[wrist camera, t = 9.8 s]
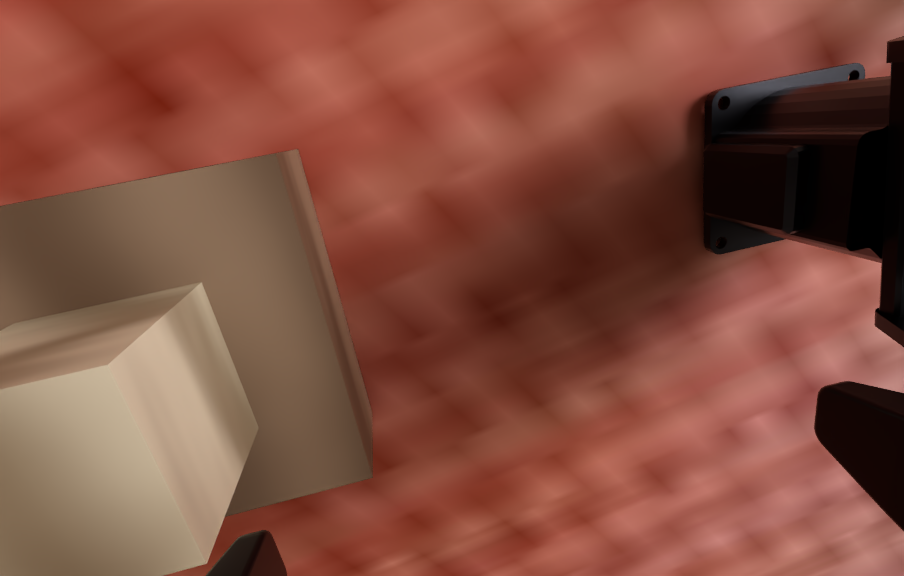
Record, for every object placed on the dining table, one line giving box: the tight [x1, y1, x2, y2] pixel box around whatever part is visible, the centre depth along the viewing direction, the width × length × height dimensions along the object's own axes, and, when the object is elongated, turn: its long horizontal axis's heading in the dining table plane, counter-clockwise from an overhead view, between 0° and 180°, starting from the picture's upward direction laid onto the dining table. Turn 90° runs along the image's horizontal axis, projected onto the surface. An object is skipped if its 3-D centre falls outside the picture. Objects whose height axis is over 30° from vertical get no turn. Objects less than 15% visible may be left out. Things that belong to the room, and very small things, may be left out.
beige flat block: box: [0, 149, 373, 517], centre depth 16 cm, size 11×11×4 cm
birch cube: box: [0, 282, 259, 576], centre depth 11 cm, size 5×5×5 cm
